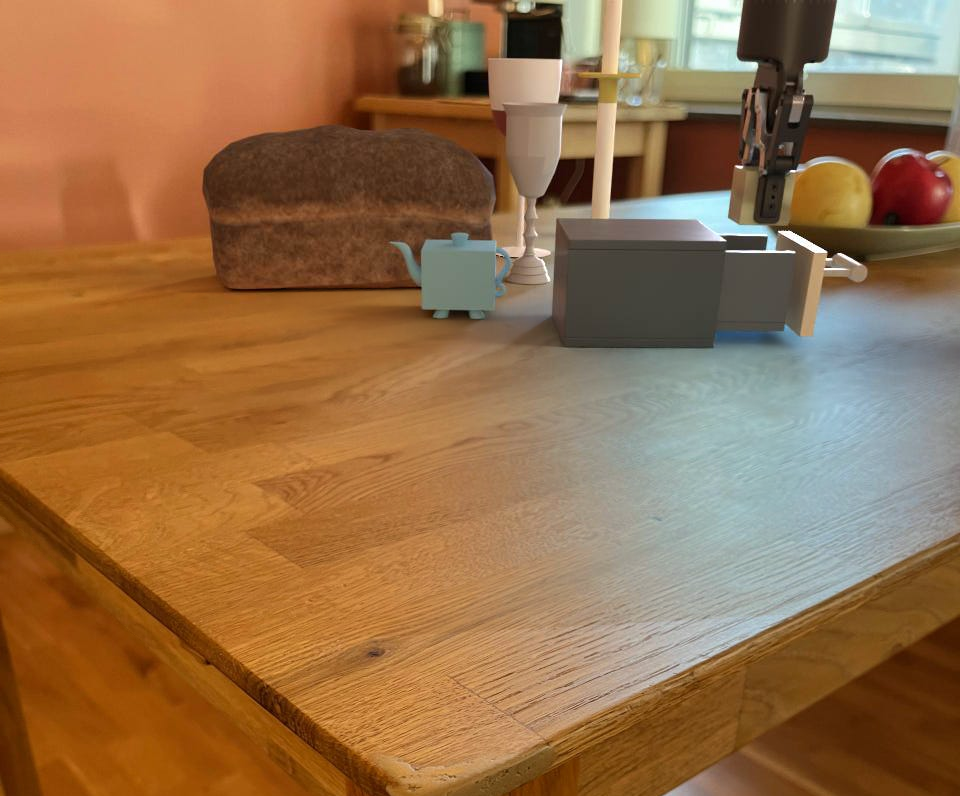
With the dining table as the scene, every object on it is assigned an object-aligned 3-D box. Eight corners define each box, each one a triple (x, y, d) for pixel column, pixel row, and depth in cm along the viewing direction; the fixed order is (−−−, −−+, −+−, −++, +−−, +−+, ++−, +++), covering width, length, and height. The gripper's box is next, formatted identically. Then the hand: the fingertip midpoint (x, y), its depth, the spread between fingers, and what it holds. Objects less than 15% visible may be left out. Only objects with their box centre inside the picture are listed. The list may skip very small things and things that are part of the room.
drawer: (826, 309, 102) (840, 231, 98) (866, 337, 92) (884, 252, 88) (654, 307, 101) (661, 230, 98) (675, 336, 92) (685, 250, 88)
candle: (555, 232, 148) (570, -82, 129) (621, 231, 150) (645, -80, 131) (573, 243, 139) (591, -91, 121) (643, 242, 141) (672, -88, 122)
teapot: (388, 318, 100) (385, 237, 96) (394, 304, 105) (391, 227, 101) (509, 320, 100) (511, 239, 96) (509, 306, 105) (511, 229, 101)
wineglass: (563, 249, 135) (573, 59, 124) (536, 261, 128) (544, 59, 117) (503, 244, 138) (507, 58, 127) (473, 255, 131) (475, 58, 120)
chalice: (485, 278, 118) (488, 103, 109) (528, 271, 122) (534, 101, 113) (528, 288, 113) (534, 106, 104) (571, 281, 117) (581, 105, 108)
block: (774, 218, 94) (782, 166, 92) (788, 225, 90) (796, 171, 88) (727, 217, 94) (734, 165, 92) (739, 225, 90) (746, 170, 88)
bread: (501, 289, 112) (505, 130, 104) (207, 294, 109) (187, 128, 101) (483, 265, 125) (485, 120, 117) (218, 268, 121) (202, 119, 113)
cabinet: (686, 316, 103) (696, 219, 98) (713, 348, 92) (727, 241, 87) (551, 314, 102) (556, 218, 98) (563, 347, 91) (569, 239, 87)
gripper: (865, -7, 77) (823, 232, 86) (809, 0, 90) (777, 208, 98) (768, -9, 77) (736, 231, 86) (725, -2, 90) (700, 207, 98)
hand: (758, 218), depth 92 cm, fingers closed on block, 4 cm apart
